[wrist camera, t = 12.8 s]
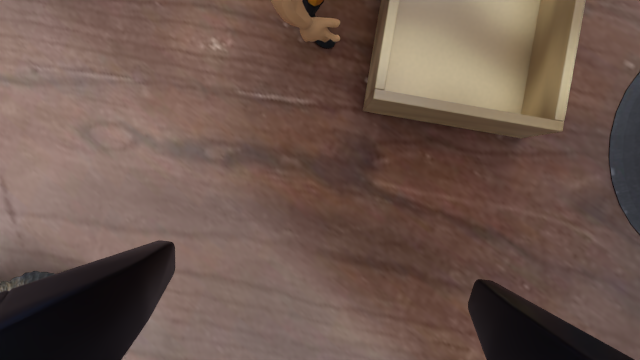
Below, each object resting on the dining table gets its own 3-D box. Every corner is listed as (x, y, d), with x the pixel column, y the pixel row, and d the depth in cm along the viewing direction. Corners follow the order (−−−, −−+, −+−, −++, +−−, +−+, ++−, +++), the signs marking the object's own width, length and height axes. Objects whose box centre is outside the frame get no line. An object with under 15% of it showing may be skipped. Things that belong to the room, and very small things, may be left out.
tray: (521, 138, 20) (563, 131, 17) (362, 111, 20) (372, 98, 17) (555, -53, 20) (603, -98, 17) (394, -85, 20) (411, -137, 16)
